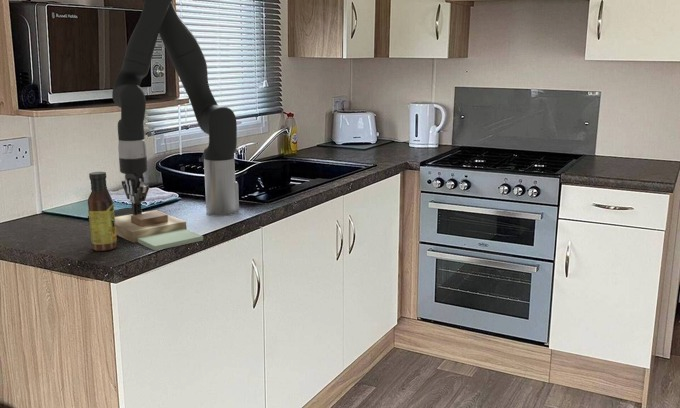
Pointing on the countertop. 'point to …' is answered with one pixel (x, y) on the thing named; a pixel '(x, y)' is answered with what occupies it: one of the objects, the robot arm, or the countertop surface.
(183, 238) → the sage mat
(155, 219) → the brown wooden block
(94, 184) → the sauce bottle
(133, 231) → the butcher block
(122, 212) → the phone
